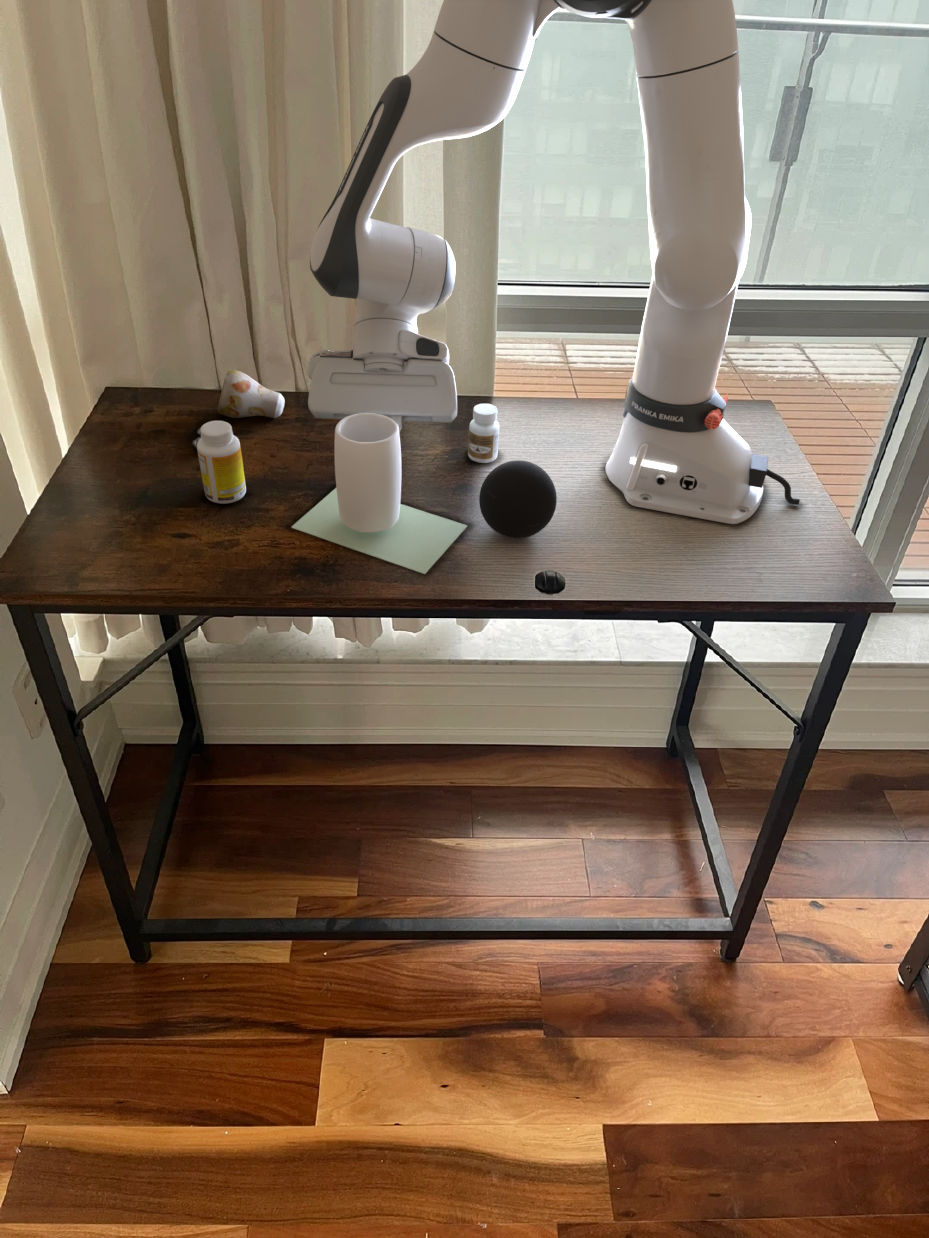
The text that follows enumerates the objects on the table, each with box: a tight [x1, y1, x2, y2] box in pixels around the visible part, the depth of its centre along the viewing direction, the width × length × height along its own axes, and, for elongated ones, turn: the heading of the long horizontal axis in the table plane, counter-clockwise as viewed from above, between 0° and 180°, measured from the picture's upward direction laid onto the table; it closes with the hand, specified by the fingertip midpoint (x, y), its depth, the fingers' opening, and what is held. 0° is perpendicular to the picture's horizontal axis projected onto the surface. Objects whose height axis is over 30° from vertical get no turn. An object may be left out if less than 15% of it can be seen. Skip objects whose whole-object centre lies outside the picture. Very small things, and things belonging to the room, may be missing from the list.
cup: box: [333, 413, 402, 532], centre depth 119 cm, size 8×8×14 cm
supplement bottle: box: [196, 420, 247, 505], centre depth 124 cm, size 6×6×10 cm
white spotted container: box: [217, 369, 286, 419], centre depth 142 cm, size 8×10×10 cm
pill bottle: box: [467, 403, 500, 464], centre depth 136 cm, size 4×4×8 cm
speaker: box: [478, 459, 558, 539], centre depth 121 cm, size 10×10×10 cm
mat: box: [290, 487, 468, 575], centre depth 123 cm, size 20×12×1 cm, turn 63°
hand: (382, 451), depth 127 cm, fingers closed
